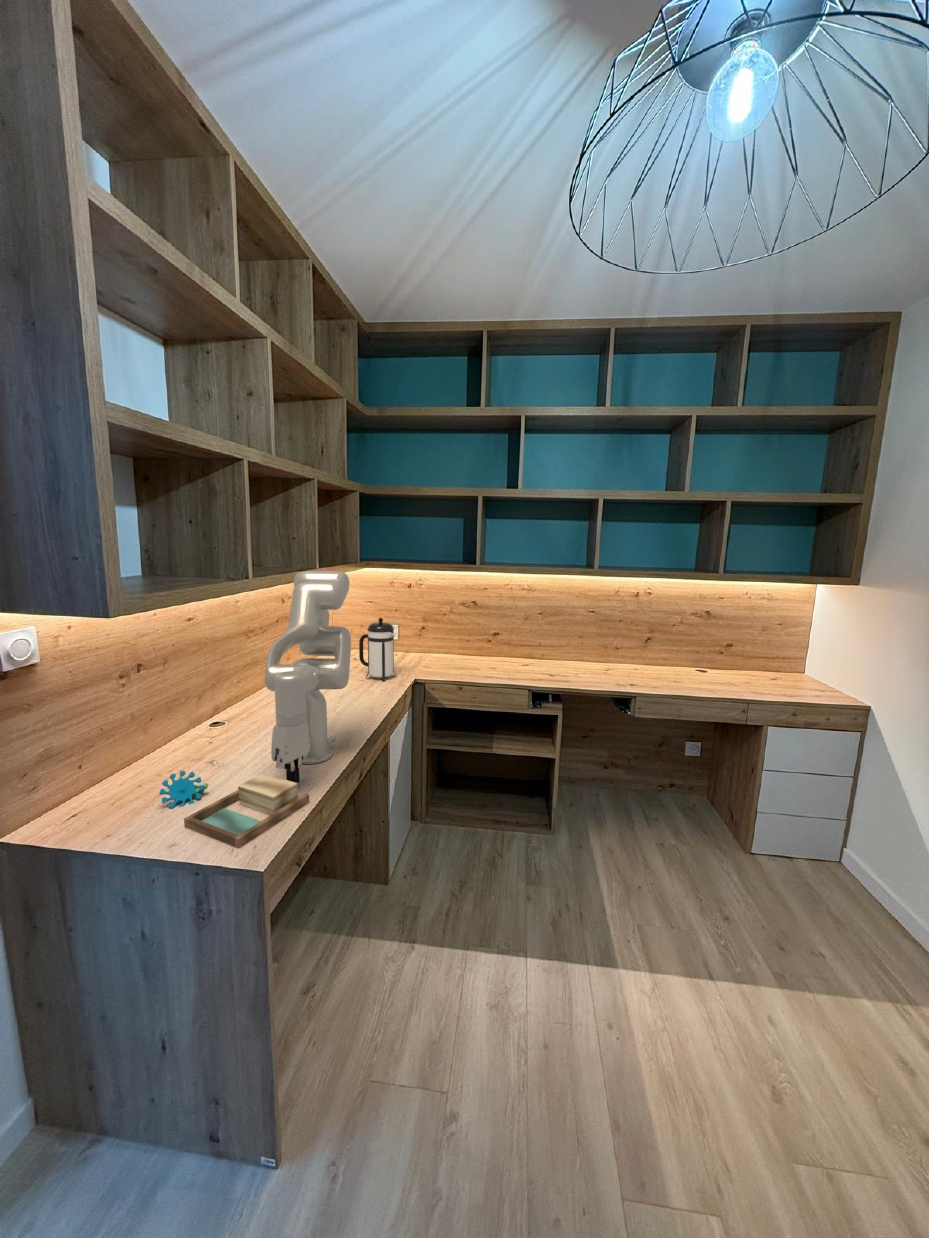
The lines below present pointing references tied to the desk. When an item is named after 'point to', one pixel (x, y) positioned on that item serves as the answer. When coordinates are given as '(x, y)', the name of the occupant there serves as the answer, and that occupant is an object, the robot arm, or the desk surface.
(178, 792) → the blue spiky virus toy
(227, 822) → the bay
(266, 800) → the cream hardcover book
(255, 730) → the desk surface
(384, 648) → the coffee press
